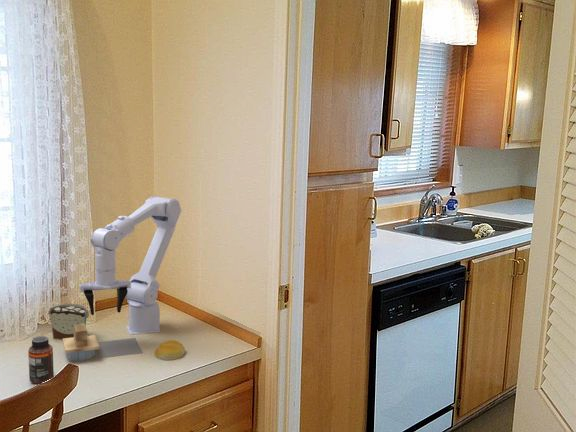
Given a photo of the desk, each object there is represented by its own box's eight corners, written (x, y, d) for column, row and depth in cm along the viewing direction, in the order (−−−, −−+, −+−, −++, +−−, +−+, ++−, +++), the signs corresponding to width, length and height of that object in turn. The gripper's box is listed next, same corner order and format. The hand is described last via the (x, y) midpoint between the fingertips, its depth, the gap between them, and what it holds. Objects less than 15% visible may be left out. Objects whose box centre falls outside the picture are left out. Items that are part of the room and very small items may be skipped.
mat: (135, 339, 189) (135, 337, 189) (143, 354, 178) (143, 352, 178) (95, 343, 184) (95, 342, 184) (100, 359, 173) (100, 358, 173)
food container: (95, 335, 190) (95, 305, 188) (87, 343, 184) (87, 311, 182) (57, 332, 191) (57, 301, 189) (48, 339, 185) (47, 308, 183)
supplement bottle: (48, 372, 164) (48, 332, 161) (57, 380, 159) (56, 339, 157) (25, 378, 160) (24, 337, 158) (33, 386, 155) (32, 345, 153)
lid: (94, 337, 180) (94, 320, 179) (99, 349, 172) (99, 331, 171) (62, 341, 176) (62, 323, 175) (65, 353, 168) (65, 334, 167)
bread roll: (150, 360, 175) (150, 347, 174) (162, 348, 183) (162, 336, 183) (178, 363, 173) (178, 350, 173) (188, 351, 182) (188, 339, 181)
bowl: (92, 349, 180) (92, 338, 179) (96, 359, 173) (96, 348, 172) (65, 352, 176) (65, 341, 176) (67, 363, 170) (67, 351, 169)
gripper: (81, 274, 173) (81, 319, 176) (132, 270, 179) (132, 314, 182) (78, 267, 180) (79, 311, 182) (128, 264, 186) (128, 307, 188)
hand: (105, 312), depth 182 cm, fingers open, 7 cm apart
